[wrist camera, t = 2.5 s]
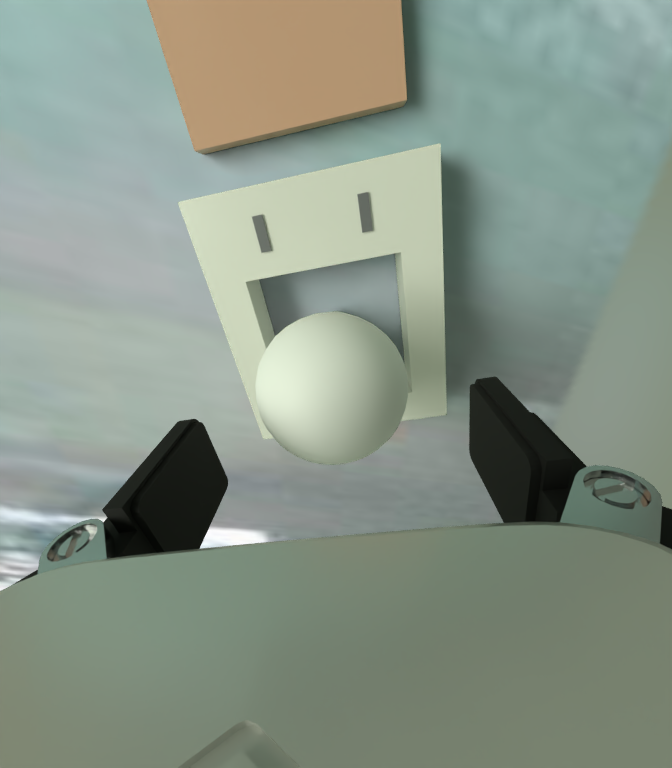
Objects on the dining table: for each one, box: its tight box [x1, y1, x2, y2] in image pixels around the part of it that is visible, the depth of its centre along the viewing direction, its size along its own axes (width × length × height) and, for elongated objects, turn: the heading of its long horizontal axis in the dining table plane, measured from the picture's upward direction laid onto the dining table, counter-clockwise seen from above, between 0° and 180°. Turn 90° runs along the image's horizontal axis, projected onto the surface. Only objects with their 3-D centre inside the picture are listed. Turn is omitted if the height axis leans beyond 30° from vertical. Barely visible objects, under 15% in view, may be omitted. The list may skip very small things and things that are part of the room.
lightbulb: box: [255, 311, 408, 465], centre depth 15 cm, size 6×6×11 cm
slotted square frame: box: [178, 144, 447, 439], centre depth 18 cm, size 14×12×3 cm
